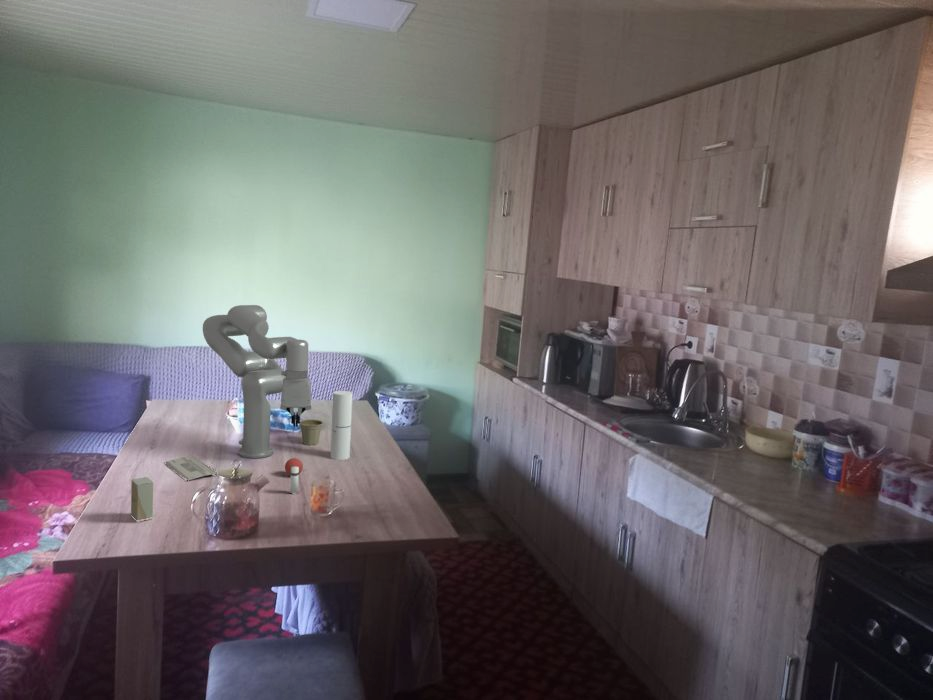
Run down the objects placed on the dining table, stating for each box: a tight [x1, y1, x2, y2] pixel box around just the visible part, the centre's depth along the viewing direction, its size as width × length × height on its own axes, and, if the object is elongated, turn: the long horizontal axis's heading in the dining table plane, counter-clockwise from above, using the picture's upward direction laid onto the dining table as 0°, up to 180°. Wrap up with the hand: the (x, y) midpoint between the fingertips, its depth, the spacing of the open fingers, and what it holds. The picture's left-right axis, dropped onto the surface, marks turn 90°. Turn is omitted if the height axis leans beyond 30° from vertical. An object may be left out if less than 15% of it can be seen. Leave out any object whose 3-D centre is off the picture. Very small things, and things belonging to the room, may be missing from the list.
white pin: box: [289, 466, 300, 494], centre depth 209 cm, size 2×2×8 cm
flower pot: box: [299, 419, 324, 446], centre depth 264 cm, size 9×9×9 cm
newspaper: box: [163, 455, 218, 482], centre depth 225 cm, size 23×12×2 cm, turn 43°
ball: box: [284, 457, 304, 476], centre depth 225 cm, size 6×6×6 cm
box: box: [130, 476, 154, 520], centre depth 182 cm, size 5×4×11 cm
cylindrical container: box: [330, 390, 354, 461], centre depth 248 cm, size 7×7×25 cm
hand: (295, 425), depth 232 cm, fingers closed
